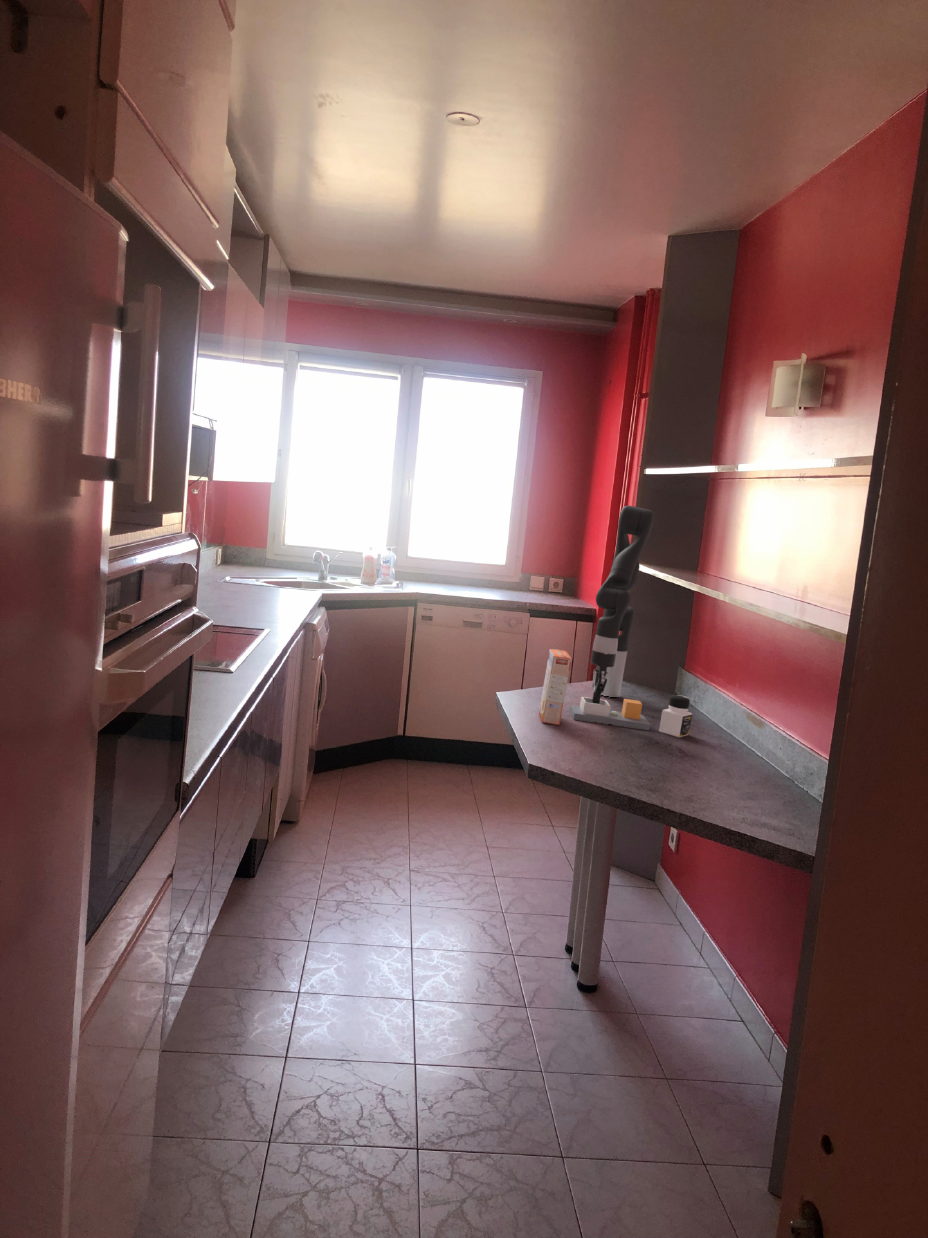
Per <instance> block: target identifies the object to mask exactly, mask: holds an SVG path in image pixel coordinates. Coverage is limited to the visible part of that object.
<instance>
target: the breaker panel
mask: <svg viewBox="0 0 928 1238" xmlns="http://www.w3.org/2000/svg"><path fill="white" fill-rule="evenodd" d="M592 698H593V697H586V696H581V697H580V704H579V705H575V704H570V705H569V709H568V711H569V713H570V716H571V717H572V720H574V719H575V721H581V722H588V723H594V722H597V723H596V724H601V723H603V724H602V725H608V724H612V725H611V726H614V727H622V726H623V728H629V729H630V728H631V729H637V730H643V731H650V728H651V723H650V722H649V721H648V719H647V718H646V717H645V716H644V715H643V714H641V715H640V720H639V719H632V718H625V717H623V715H622V714H621V713H622V711H616V710H611V705H610V703H609V702H608V701H607V700H605V699H600V703H601V704H595V703H588V701H591V702H592Z"/></svg>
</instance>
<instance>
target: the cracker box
mask: <svg viewBox="0 0 928 1238" xmlns="http://www.w3.org/2000/svg"><path fill="white" fill-rule="evenodd" d="M571 664H572V658H571V656H570V654H569V652H568V651H567V650H562V649H556V648H555V649H554V648H549V651H548V658H547V663H546V669H545V675H544V681H543V686H542V693H541V697H540V703H539V709H538V713H539V716H540V721H541V723H544V724H549V725H555V726H560V725H561V721H562V720H561V719H562V714H563V709H564V704H565V698H566V692H567V687H568V680H569V675H570V670H571Z"/></svg>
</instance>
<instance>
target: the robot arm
mask: <svg viewBox="0 0 928 1238" xmlns="http://www.w3.org/2000/svg"><path fill="white" fill-rule="evenodd" d="M654 521H655V513H654V511H652V510H650V509H648V508H643V507H638V506H633V505H625V506H623V507H622V509H621V510H620V514H619V516H618V523H617V524H618V525H617V534H616V545H615V550H614V556H613V559H612V560H613V561H612V566H611V568H610V572H609V574H608V576H607V577H606V580H604V582H603V583H602V585H601V587H600V588H599V589H598V591H597V593H596V595H595V603H596V605H597V607H598V608H600V609H603V613H602V616H601V617H599V618H598V620H597V627H596V632H595V636H594V640H593V644H592V651H591V655H590V656H591V657H590V664H592V665H595V666H596V667H595V668H594V669H593V676H592V691H593V693H592V697H591V698H592V702H593V703H595V704H599V703H600V700H601V697H602V696H601V695H605V696H609V697H608V698H610V697H619V698H620V695H621V689H622V685H623V684H622V683H623V678H624V673H625V667H626V660H627V656H628V650H629V649H628V648H629V644H630V637H631V632H632V628H633V624H634V619H635V609H634V608H633V607H632V606H630V604H631V594H630V592H629V591H630V590H631V589H632V588H633V587H635V584H636V583H637V581H638V579H639V578H638V577H639V571H640V561H639V558H640V556H641V554H642V552H643V550H644V549H645V546H646V544H647V541H648V539H649V537H650V534H651V531H652V529H653V527H654ZM629 535H631V536H636V537H637V538H635V540H634V541H633V542H632V543H631V542H630V538H629ZM620 632H621V633H620Z"/></svg>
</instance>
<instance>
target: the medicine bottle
mask: <svg viewBox="0 0 928 1238" xmlns="http://www.w3.org/2000/svg"><path fill="white" fill-rule="evenodd" d="M690 702H691V701H690V699H689V698H688V697H687V696H684V695H679V694H673V695H670V697H669V702H668V708H665V709H662V712H661V718H660V722H659V729H658V731H659V732H660V733H662V734H665V735H670V736H672V737H676V738H682V737H686V736H688V735H689V734H690V728H691V723H692V718H693V713H692V712H690V711H689V706H690Z"/></svg>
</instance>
